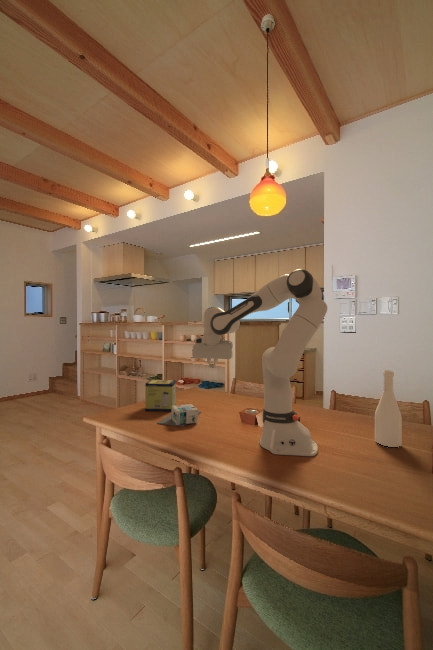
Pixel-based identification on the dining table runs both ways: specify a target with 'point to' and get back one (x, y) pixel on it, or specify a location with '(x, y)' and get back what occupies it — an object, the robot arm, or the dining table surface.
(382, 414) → the wine bottle
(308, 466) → the dining table surface
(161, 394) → the protein box
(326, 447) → the dining table surface
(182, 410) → the light bulb box
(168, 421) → the rubber mat
